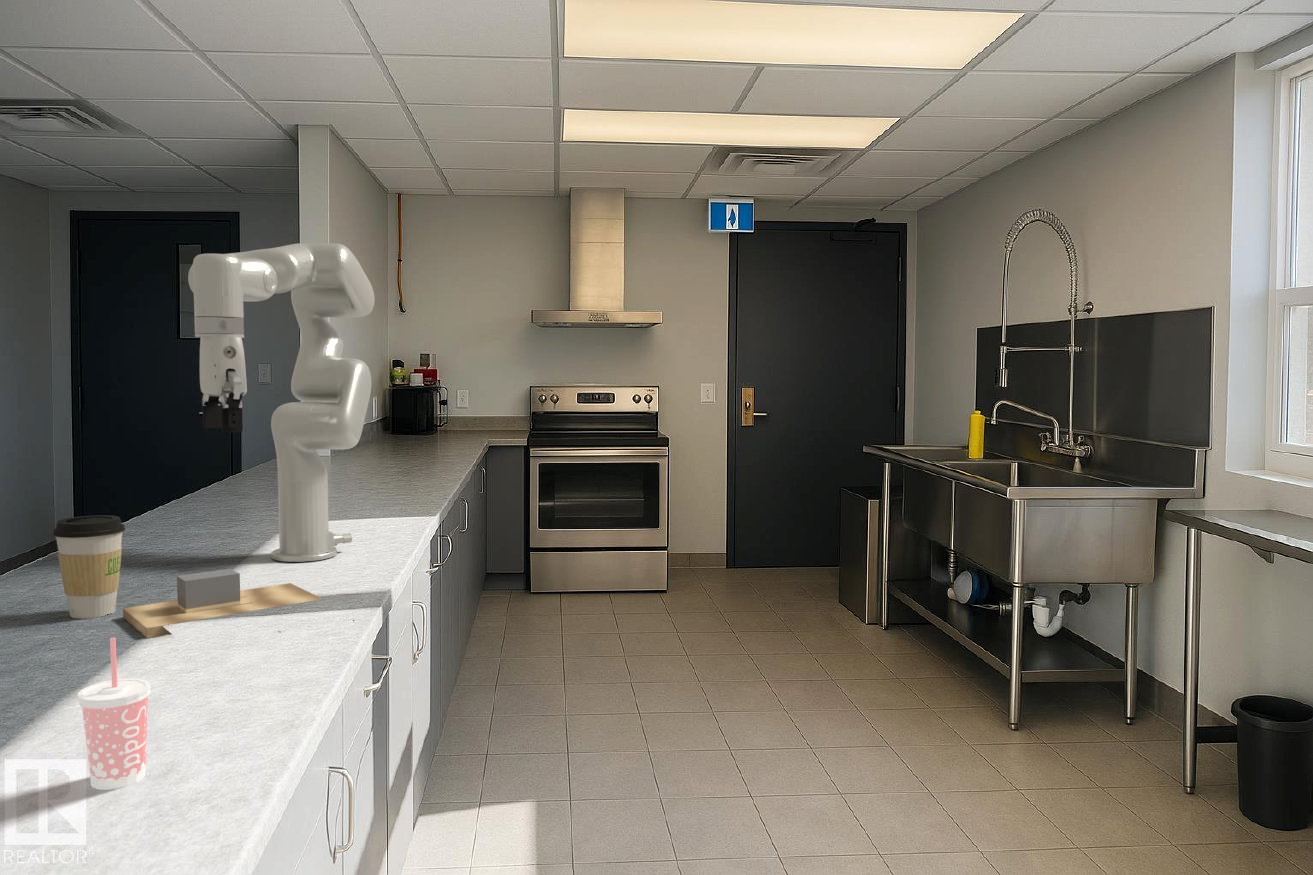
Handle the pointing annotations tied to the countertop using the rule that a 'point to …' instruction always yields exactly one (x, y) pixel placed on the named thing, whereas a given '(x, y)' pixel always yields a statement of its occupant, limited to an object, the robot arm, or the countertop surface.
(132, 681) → the beverage cup
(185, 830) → the countertop surface
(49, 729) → the countertop surface
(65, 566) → the coffee cup
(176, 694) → the countertop surface
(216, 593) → the block
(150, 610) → the board
